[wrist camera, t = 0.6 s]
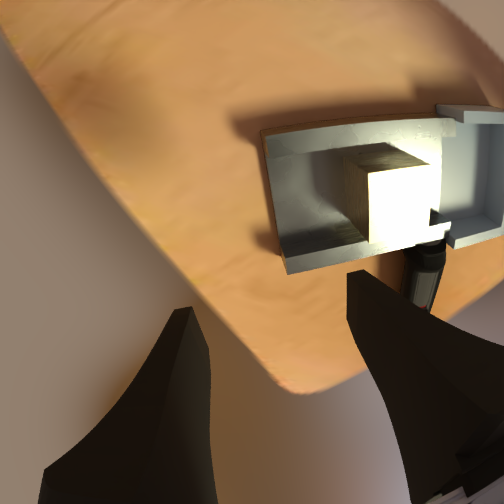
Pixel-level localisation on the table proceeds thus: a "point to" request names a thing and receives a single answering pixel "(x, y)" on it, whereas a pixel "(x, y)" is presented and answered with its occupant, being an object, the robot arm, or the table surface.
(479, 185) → the tray
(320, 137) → the slot bed
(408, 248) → the electric trimmer
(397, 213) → the yellow cube
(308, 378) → the table surface
